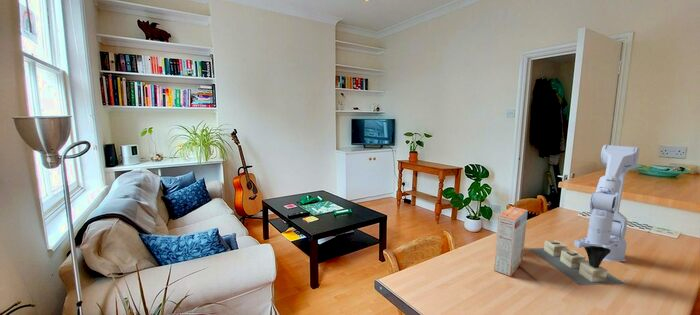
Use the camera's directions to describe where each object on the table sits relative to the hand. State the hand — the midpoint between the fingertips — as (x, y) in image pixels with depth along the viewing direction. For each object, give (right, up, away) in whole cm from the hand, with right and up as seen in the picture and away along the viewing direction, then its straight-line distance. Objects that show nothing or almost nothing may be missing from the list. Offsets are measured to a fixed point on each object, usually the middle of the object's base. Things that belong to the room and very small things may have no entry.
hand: (593, 266), depth 98 cm
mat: (-1, -3, +9) cm, 10 cm away
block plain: (0, -4, +1) cm, 4 cm away
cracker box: (-25, -3, +8) cm, 26 cm away
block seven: (-1, -3, +9) cm, 9 cm away
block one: (-1, -1, +17) cm, 17 cm away
